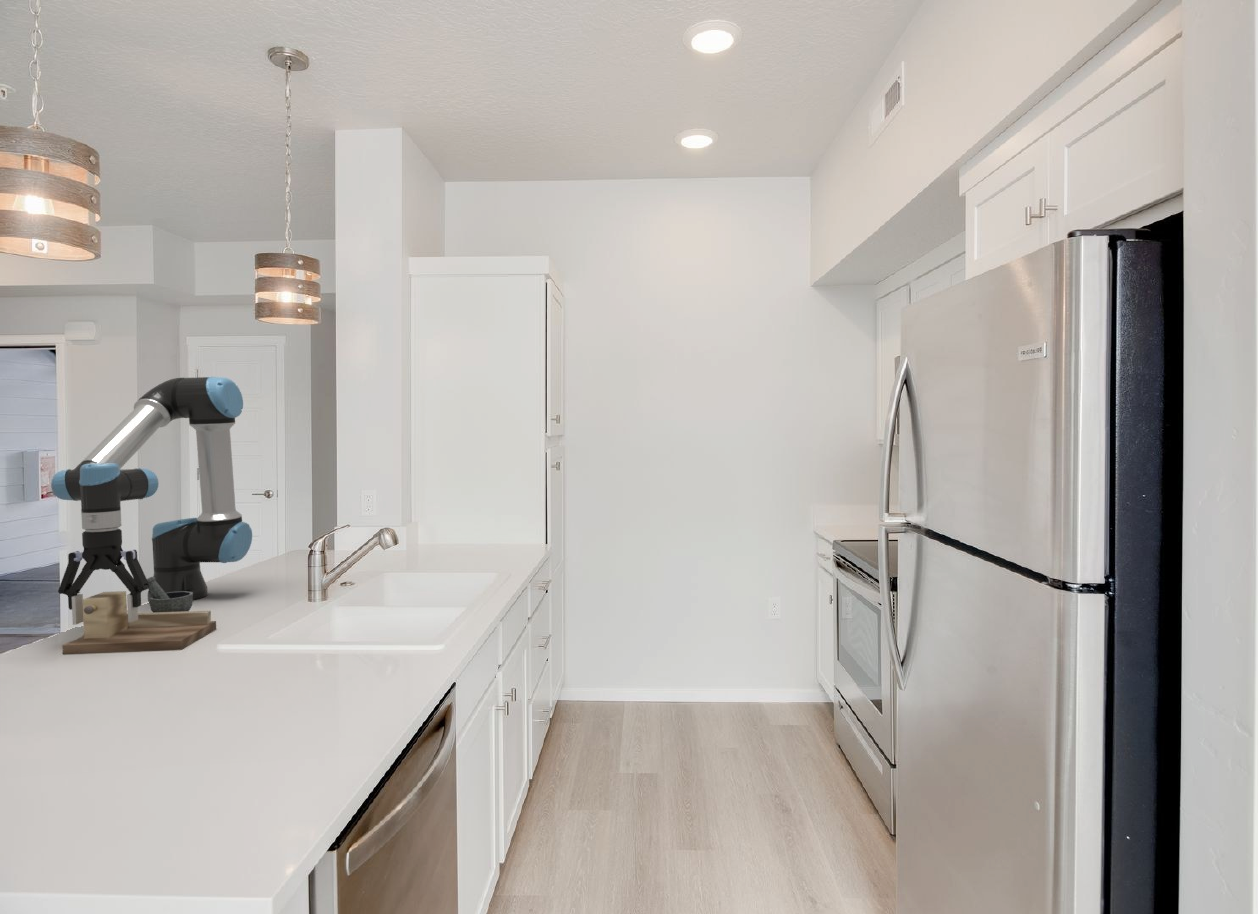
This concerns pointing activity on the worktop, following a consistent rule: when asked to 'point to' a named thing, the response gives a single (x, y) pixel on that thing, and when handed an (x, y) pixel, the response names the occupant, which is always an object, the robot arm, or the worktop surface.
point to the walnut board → (150, 634)
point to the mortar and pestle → (168, 599)
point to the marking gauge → (104, 614)
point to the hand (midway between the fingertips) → (105, 622)
